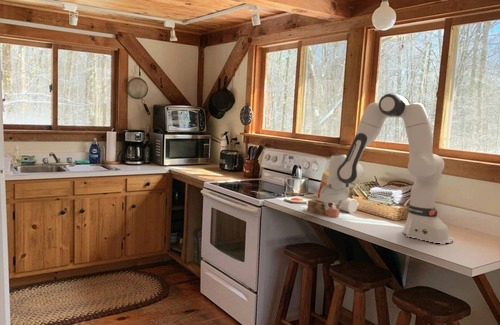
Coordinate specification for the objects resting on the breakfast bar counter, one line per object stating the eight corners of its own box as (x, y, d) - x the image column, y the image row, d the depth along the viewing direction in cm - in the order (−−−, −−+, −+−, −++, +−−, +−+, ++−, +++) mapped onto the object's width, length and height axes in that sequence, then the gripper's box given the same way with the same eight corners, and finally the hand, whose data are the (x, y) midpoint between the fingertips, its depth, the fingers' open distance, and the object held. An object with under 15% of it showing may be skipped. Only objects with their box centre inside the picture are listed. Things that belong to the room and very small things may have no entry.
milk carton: (316, 198, 285) (319, 167, 282) (328, 197, 288) (331, 167, 286) (324, 201, 276) (327, 169, 274) (336, 201, 280) (339, 169, 278)
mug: (347, 213, 248) (348, 199, 247) (334, 209, 256) (335, 196, 255) (361, 212, 255) (363, 198, 253) (348, 208, 263) (349, 194, 262)
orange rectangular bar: (338, 217, 238) (339, 209, 237) (335, 218, 237) (336, 210, 236) (317, 211, 249) (318, 203, 249) (314, 211, 248) (315, 204, 247)
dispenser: (331, 213, 246) (332, 202, 245) (320, 215, 240) (321, 204, 239) (318, 209, 253) (318, 199, 252) (307, 211, 247) (308, 200, 247)
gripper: (327, 186, 228) (324, 212, 230) (351, 183, 242) (349, 208, 243) (318, 183, 233) (315, 209, 235) (342, 181, 246) (340, 205, 248)
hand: (332, 209), depth 239 cm, fingers open, 8 cm apart
